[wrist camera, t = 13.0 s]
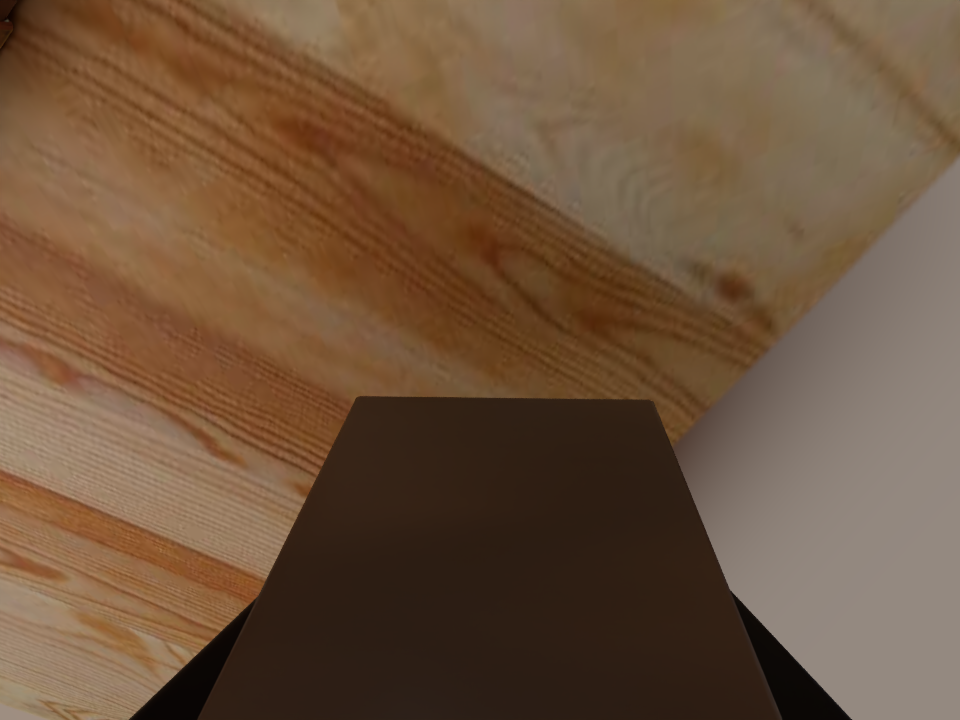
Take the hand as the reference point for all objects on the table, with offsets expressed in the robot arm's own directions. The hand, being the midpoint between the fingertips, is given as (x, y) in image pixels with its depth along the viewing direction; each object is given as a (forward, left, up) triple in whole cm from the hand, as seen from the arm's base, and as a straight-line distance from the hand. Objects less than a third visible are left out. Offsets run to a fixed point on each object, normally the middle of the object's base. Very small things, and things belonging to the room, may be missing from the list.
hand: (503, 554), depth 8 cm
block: (0, 0, -1) cm, 1 cm away
